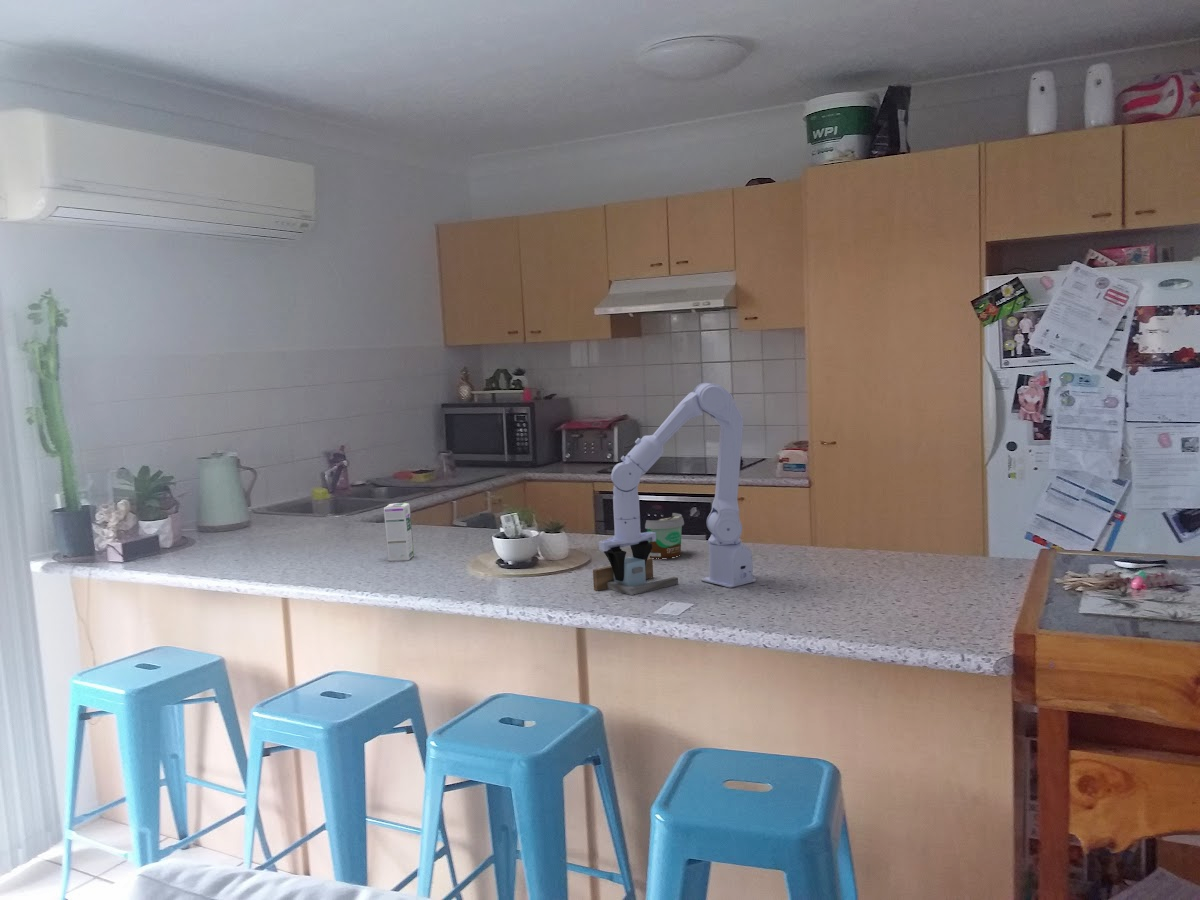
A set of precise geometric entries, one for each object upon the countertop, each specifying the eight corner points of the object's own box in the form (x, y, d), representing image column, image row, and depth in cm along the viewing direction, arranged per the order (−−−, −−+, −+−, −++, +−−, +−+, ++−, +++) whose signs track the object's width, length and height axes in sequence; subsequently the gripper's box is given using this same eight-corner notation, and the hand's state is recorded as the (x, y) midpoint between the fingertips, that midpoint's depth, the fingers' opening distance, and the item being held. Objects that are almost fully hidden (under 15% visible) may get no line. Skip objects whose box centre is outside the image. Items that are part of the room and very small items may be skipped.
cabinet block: (648, 587, 208) (647, 560, 208) (630, 591, 205) (629, 564, 205) (631, 582, 213) (630, 556, 212) (614, 587, 210) (612, 560, 209)
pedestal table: (678, 584, 210) (677, 564, 210) (621, 597, 201) (620, 576, 200) (649, 576, 218) (649, 557, 218) (593, 589, 209) (592, 569, 208)
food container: (666, 562, 232) (664, 522, 230) (646, 560, 235) (644, 520, 234) (695, 553, 241) (693, 514, 240) (675, 550, 245) (673, 512, 244)
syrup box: (409, 560, 248) (405, 505, 246) (387, 561, 248) (383, 506, 246) (414, 555, 253) (410, 502, 252) (392, 556, 254) (388, 503, 252)
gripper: (641, 510, 215) (643, 569, 217) (589, 519, 207) (592, 580, 208) (661, 514, 210) (663, 574, 211) (608, 523, 201) (611, 586, 203)
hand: (629, 578), depth 209 cm, fingers closed on cabinet block, 5 cm apart
